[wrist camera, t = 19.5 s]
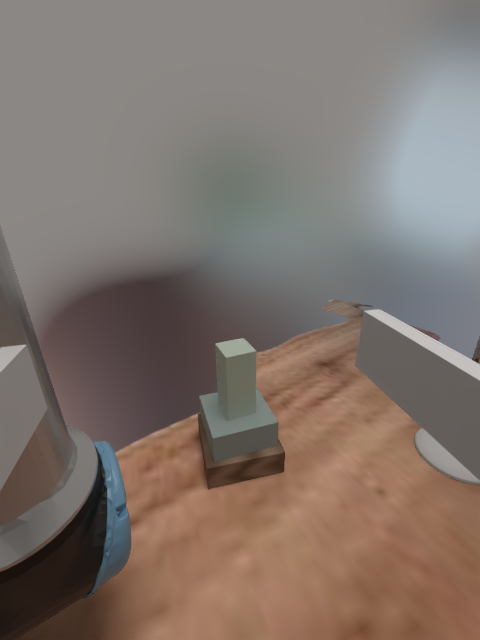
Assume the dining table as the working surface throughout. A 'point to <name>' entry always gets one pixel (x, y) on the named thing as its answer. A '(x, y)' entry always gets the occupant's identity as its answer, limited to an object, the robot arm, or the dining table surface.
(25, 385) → the robot arm
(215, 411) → the slate top block
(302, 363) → the dining table surface
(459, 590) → the dining table surface
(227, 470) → the walnut base block
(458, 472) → the candlestick
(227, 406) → the sage pillar block
